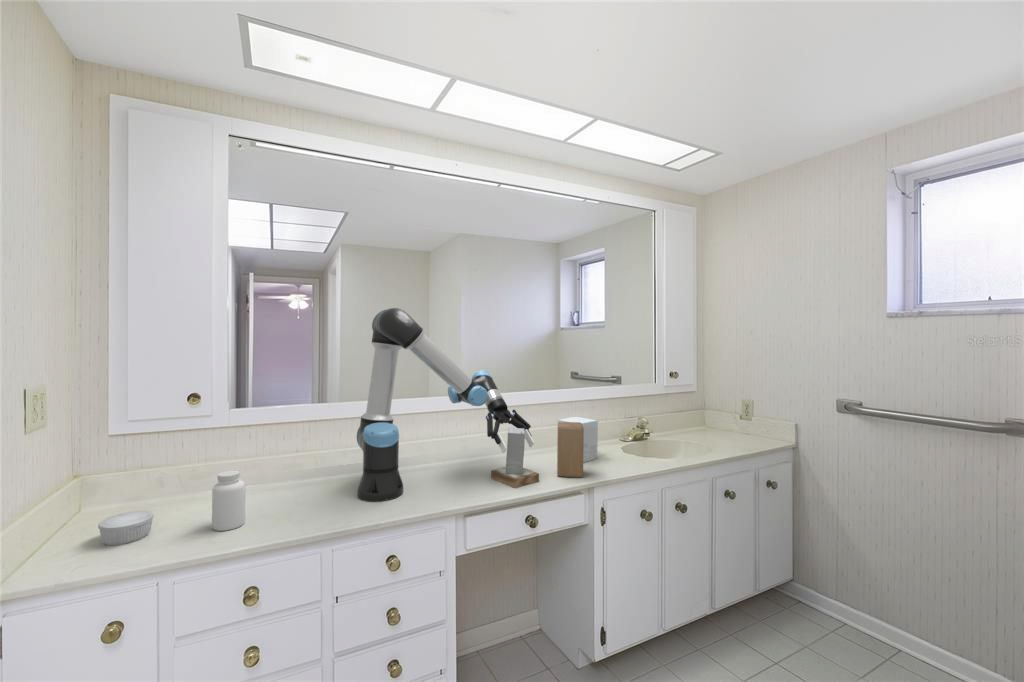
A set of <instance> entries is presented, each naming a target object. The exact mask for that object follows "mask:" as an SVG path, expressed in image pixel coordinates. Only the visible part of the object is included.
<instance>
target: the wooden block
mask: <svg viewBox="0 0 1024 682" xmlns="http://www.w3.org/2000/svg"><path fill="white" fill-rule="evenodd" d="M557 440H558V445H556V446H557V448H556V449H557V450H556V451H557V453H556V455H557V460H556V461H557V462H556V463H557V464H556V467H557V468H556V469H557V470H556V474H557V476H558V477H559V478H580V479H581V478H583V476H584V463H583V444H584V428H583V425H582V423H580V422H559V423H558V422H557Z"/></svg>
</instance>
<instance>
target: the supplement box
mask: <svg viewBox="0 0 1024 682" xmlns="http://www.w3.org/2000/svg"><path fill="white" fill-rule="evenodd" d="M559 422H580V423H582V425H583V428H584V444H583V464H584V463H587V462H589V461H593V460H596V459H598V440H599V439H598V437H599V436H598V428H599V426H598V420H597V419H591V418H586V417H580V416H572V417H571V416H570V417H566V418H560V419H557V424H558V423H559ZM557 445H558V439H557ZM557 445H556V446H557Z"/></svg>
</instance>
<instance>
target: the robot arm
mask: <svg viewBox="0 0 1024 682" xmlns="http://www.w3.org/2000/svg"><path fill="white" fill-rule="evenodd" d="M371 328H372V336H371V337H372V338H371V344H372V346H373V347H374V353H373V360H372V367H371V375H370V383H369V388H368V389H369V390H368V396H367V397H368V398H367V403H366V411H365V413H363V414H362V415H361V417H360V421H359V427H358V429H357V432H356V442H357V444H358V446H359V448H360V449H361V451H362V453H363V455H362V456H363V458H362V461H363V464H362V468H363V469H362V475H361V479H360V481H359V484H358V487H357V498H358V499H360V500H362V501H366V502H384V501H390V500H393V499H397V498H398V497H400V496H402V495H403V494H404V483H403V480H402V477H401V474H400V471H399V454H400V453H399V452H400V450H399V445H400V444H399V443H400V442H399V440H400V433H399V428H398V426H397V425H395V424H394V418H393V415H391V409H392V403H393V402H392V401H393V395H394V388H395V387H394V386H395V380H396V372H397V366H398V357H399V351H400V350H401V349H402V348H403V349H404V350H409V351H410V352H411V353H413V354H414V355H415V356H416V357H417V358H418V359H420V360H421V361H422V362H423V363H424V364H425V366H427V367H429V369H430V370H432V371H433V372H434V373H435V374H436V375H437V376H438V378H439V377H440V378H441V380H442V381H444V382H445V383H446V384H447V385H448V388H447V395H448V398H449V401H450V402H451V403H452V404H457V403H459V404H460V403H462V402H464V403H466V404H468V405H471V406H473V407H480V406H481V407H482V406H483V405H485V406H486V409H487V411H488V413H487V414H486V416H485V419H486V424H487V426H486V431H487V432H486V433H487V434H486V435H487V437H488V438H490V439H492V440H494V441H495V443H496V444H497V446H498V447H499V448H500V450H501V452H502V453H503V454H504V453H505V452H507V444H506V443H505V441H504V439H503V437H502V435H501V433H499V430H500V429H499V428H500V425H504V424H509V425H512V426H513V427H514V428H523V429H524V433H525V442H527V444H528V446H529V448H532V447H533V446H534V445H535V443H536V442H535V441H534V439H533V437H532V434H531V431H530V428H532V425H531V424H530V423H528V421H526V420H525V418H523V417H522V416H521V415H520V414H519V413H518V412H517V410H516V409H512V411H510V410H509V409H508V405H507V403H506V401H505V399H504V397H503V396H502V394H501V392H500V391H499V389H498V387H497V385H496V383H495V380H494V379H493V377H492V375H491V374H490V373H489V372H488V370H486V369H481V370H480V369H479V370H478V371H477V372H474V374H473V375H472V377H470V376H469V375H468V374H467V373H466V371H464V370H463V369H462V368H461V367H460V366H459V365H458V364H457V363H455V361H453V360H452V359H451V357H449V356H448V355H447V354H446V353H445V352H444V351H443V350H442V349H441V348H439V346H437V345H436V343H434V342H433V341H432V340H431V339H430V338H429V337H428V336H427V335H426V334H425V333H424V328H423V327H422V326H420V325H419V323H417V321H416V320H414V318H413V317H412V316H411V314H409V313H407V312H406V311H405V310H403V309H401V308H398V307H391V308H386V309H383V310H381V311H379V312H378V313H377V314H376V315H375V316H374V318H373V320H372V323H371ZM493 420H494V421H493ZM494 422H495V423H494Z"/></svg>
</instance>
